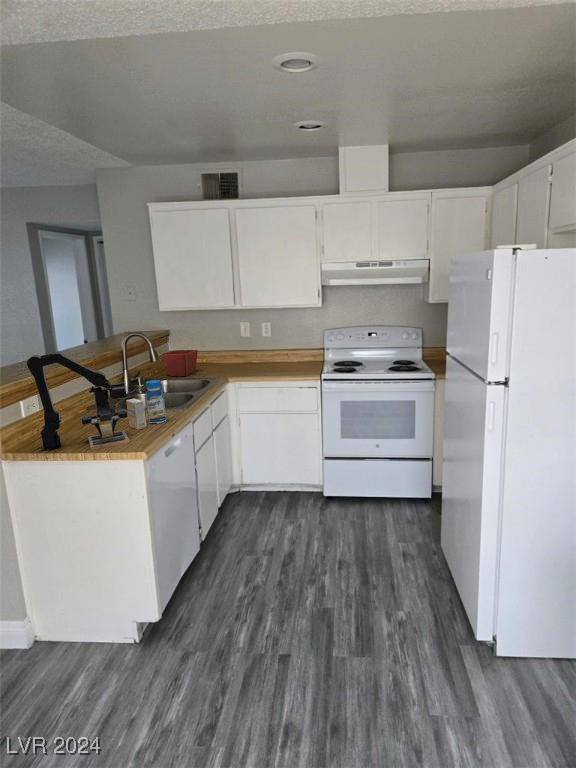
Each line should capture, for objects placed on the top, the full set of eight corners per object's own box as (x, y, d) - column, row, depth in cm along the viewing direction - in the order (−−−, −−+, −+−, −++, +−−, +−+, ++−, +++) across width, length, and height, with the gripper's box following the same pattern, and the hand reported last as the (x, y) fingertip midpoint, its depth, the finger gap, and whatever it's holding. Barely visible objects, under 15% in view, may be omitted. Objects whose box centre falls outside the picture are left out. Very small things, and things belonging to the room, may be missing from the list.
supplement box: (129, 427, 237) (125, 400, 235) (138, 424, 241) (134, 398, 238) (137, 430, 232) (134, 402, 229) (147, 427, 235) (143, 400, 232)
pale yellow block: (102, 440, 219) (100, 427, 218) (102, 438, 223) (100, 425, 222) (113, 438, 221) (111, 425, 219) (112, 436, 225) (110, 423, 223)
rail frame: (91, 449, 208) (90, 447, 208) (88, 439, 223) (88, 436, 222) (129, 442, 214) (129, 439, 214) (124, 432, 229) (124, 430, 228)
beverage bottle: (170, 419, 246) (165, 379, 242) (161, 424, 238) (156, 383, 234) (154, 418, 249) (149, 379, 244) (145, 423, 241) (140, 383, 237)
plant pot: (177, 372, 371) (174, 350, 368) (200, 372, 365) (198, 349, 362) (163, 378, 354) (160, 354, 350) (187, 378, 348) (184, 354, 344)
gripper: (80, 408, 207) (85, 444, 211) (126, 401, 215) (131, 436, 218) (78, 402, 217) (84, 437, 220) (123, 396, 225) (128, 429, 228)
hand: (107, 435), depth 221 cm, fingers closed on pale yellow block, 4 cm apart
